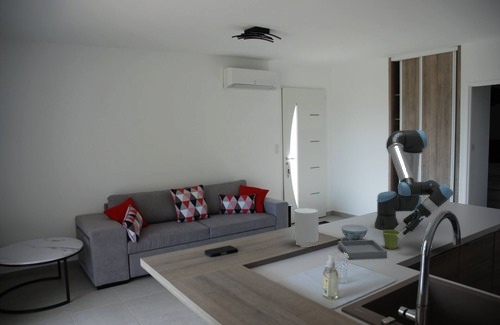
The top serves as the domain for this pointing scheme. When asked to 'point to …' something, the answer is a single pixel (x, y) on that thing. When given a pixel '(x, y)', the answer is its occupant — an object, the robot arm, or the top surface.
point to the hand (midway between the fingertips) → (397, 234)
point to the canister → (306, 225)
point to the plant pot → (390, 238)
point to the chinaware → (354, 232)
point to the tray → (362, 249)
